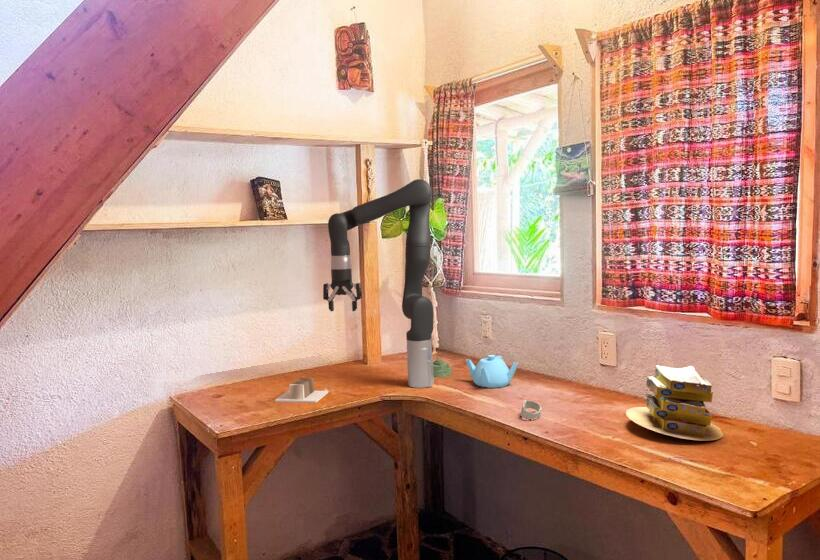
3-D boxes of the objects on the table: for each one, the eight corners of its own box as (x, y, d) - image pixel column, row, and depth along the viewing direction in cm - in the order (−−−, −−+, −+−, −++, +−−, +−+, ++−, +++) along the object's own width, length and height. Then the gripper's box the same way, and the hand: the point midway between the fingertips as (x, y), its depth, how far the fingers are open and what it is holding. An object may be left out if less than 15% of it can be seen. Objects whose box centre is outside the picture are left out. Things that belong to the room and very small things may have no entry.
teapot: (520, 386, 221) (520, 357, 220) (482, 391, 216) (481, 361, 215) (501, 377, 235) (501, 349, 235) (465, 381, 231) (464, 353, 230)
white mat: (328, 392, 222) (328, 390, 222) (316, 402, 209) (315, 401, 209) (289, 391, 225) (289, 390, 225) (274, 401, 212) (274, 400, 212)
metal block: (313, 378, 221) (302, 385, 211) (313, 391, 222) (303, 399, 212) (300, 377, 222) (289, 384, 212) (300, 391, 223) (289, 399, 213)
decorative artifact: (423, 377, 240) (448, 378, 237) (422, 359, 239) (448, 360, 237) (429, 371, 250) (453, 372, 247) (429, 354, 249) (453, 355, 246)
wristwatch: (523, 411, 192) (522, 395, 192) (543, 412, 190) (543, 396, 190) (518, 420, 184) (518, 404, 183) (539, 421, 182) (539, 405, 181)
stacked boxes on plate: (718, 419, 178) (718, 362, 177) (728, 448, 155) (729, 383, 154) (627, 412, 187) (627, 358, 186) (624, 439, 164) (624, 378, 163)
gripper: (319, 268, 226) (321, 312, 227) (356, 268, 223) (358, 312, 224) (326, 267, 233) (328, 309, 234) (362, 266, 230) (364, 309, 232)
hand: (343, 311), depth 229 cm, fingers open, 8 cm apart
